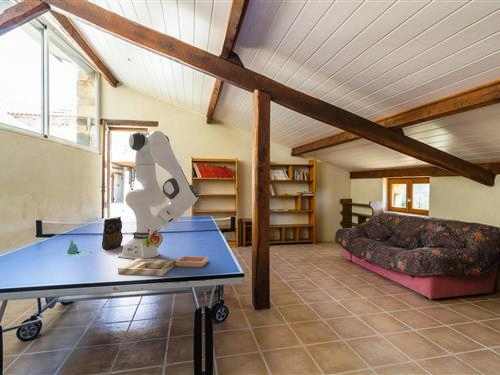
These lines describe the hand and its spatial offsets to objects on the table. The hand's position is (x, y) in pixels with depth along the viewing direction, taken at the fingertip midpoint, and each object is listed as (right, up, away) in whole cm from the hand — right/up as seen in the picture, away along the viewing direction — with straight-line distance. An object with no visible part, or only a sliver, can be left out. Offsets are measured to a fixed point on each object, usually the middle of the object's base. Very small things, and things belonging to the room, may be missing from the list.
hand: (151, 233), depth 128 cm
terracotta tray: (+17, -18, +12) cm, 28 cm away
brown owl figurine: (-45, -18, +48) cm, 68 cm away
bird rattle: (+1, -7, -1) cm, 7 cm away
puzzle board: (-3, -18, +3) cm, 19 cm away
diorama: (-56, -18, +31) cm, 66 cm away
